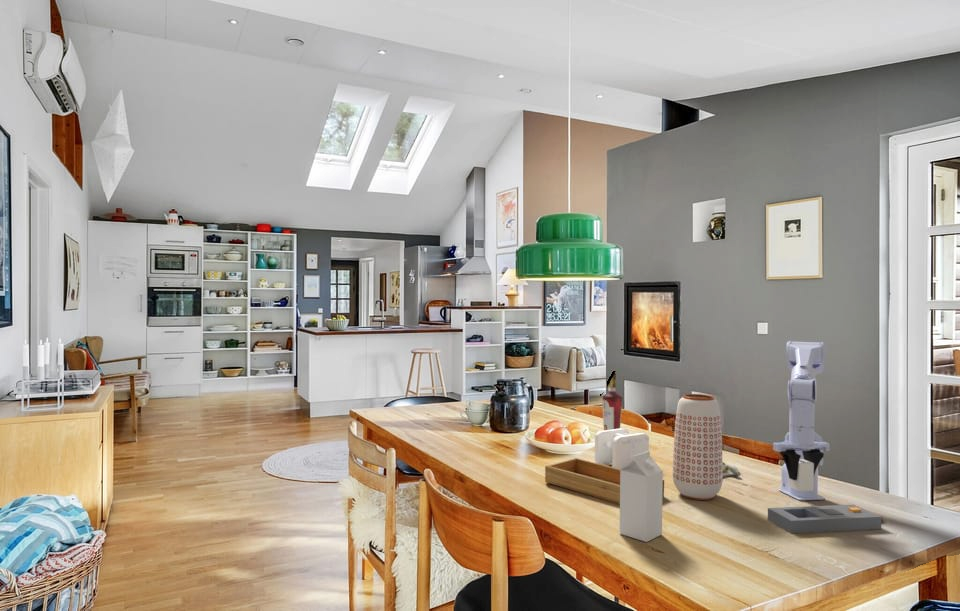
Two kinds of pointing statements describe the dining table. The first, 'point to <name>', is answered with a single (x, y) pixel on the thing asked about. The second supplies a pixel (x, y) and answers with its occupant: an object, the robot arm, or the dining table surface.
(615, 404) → the liquor
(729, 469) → the salad plate
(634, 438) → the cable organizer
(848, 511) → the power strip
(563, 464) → the tray
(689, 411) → the patterned ceramic vase
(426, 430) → the dining table surface
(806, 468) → the block
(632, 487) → the milk carton
